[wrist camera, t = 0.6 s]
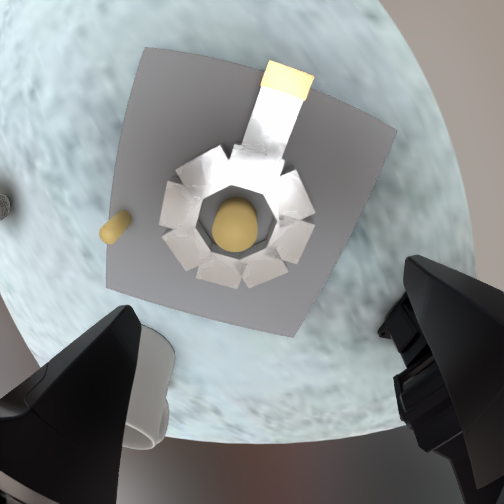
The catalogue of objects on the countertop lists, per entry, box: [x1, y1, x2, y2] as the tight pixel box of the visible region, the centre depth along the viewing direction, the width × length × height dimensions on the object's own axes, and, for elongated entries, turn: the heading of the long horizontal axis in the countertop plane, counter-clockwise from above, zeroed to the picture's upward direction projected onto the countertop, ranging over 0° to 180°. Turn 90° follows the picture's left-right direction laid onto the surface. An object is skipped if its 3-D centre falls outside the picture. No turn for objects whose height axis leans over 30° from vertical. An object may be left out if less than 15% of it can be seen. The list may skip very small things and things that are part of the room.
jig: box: [99, 47, 397, 338], centre depth 18 cm, size 18×20×4 cm
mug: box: [122, 325, 175, 449], centre depth 24 cm, size 12×8×11 cm
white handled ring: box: [159, 60, 315, 289], centre depth 17 cm, size 10×15×2 cm, turn 162°
